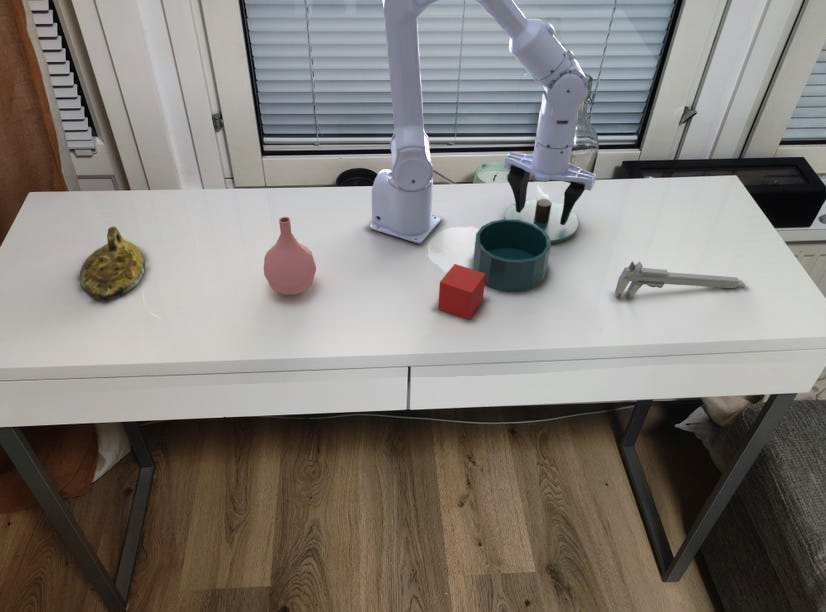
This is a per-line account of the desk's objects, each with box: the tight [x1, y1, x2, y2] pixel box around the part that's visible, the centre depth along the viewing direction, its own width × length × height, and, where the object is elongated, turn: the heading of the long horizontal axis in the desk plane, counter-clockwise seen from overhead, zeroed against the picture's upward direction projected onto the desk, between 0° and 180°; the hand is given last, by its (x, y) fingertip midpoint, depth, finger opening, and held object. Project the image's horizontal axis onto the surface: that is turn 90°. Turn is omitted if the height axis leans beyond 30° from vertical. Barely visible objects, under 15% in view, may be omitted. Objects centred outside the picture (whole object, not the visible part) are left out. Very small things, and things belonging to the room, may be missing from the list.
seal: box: [79, 225, 146, 302], centre depth 115 cm, size 9×5×15 cm
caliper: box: [614, 260, 746, 299], centre depth 112 cm, size 20×1×6 cm, turn 99°
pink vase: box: [263, 216, 317, 295], centre depth 110 cm, size 8×8×12 cm
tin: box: [472, 218, 552, 293], centre depth 116 cm, size 11×11×6 cm
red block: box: [437, 263, 486, 320], centre depth 110 cm, size 5×5×5 cm
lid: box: [504, 198, 579, 244], centre depth 125 cm, size 12×12×4 cm
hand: (541, 215), depth 126 cm, fingers open, 7 cm apart
